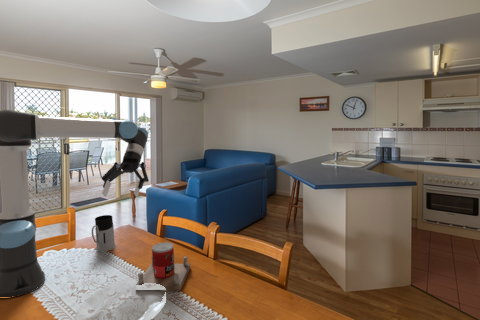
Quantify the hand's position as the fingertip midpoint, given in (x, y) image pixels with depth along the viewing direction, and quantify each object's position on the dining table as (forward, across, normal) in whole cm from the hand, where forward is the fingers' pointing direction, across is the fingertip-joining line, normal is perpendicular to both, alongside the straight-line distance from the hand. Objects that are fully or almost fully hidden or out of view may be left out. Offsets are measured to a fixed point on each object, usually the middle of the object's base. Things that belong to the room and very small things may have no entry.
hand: (119, 194), depth 117 cm
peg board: (+30, -22, -12) cm, 39 cm away
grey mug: (+13, +16, -29) cm, 36 cm away
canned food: (+29, -22, -11) cm, 38 cm away
